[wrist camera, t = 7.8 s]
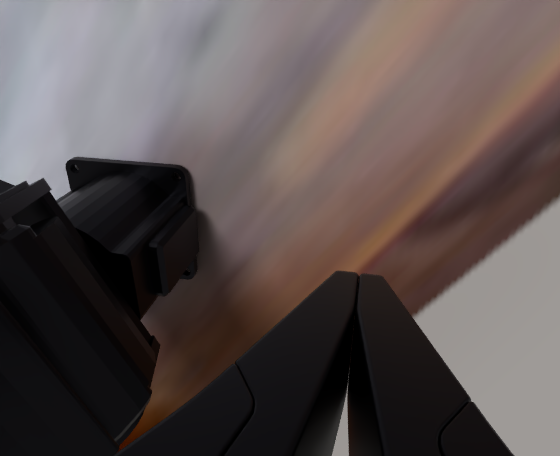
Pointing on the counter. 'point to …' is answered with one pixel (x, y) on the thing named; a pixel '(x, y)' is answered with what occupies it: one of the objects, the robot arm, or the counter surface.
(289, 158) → the counter surface
